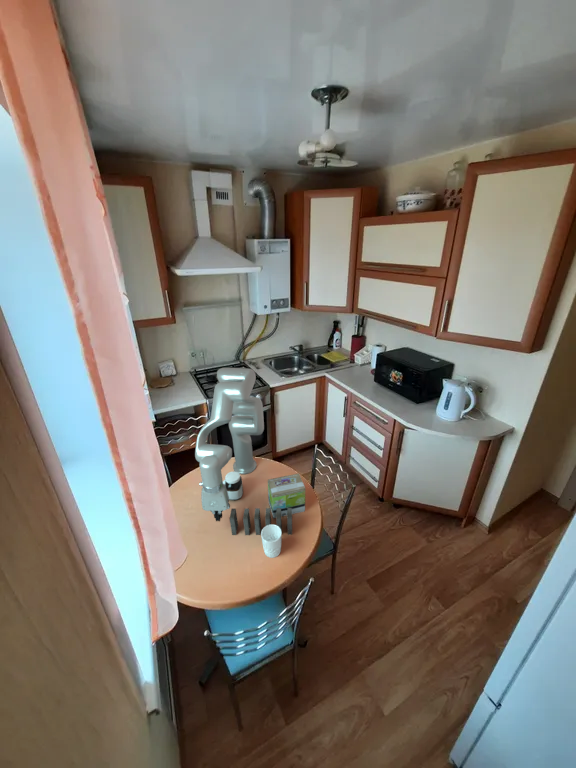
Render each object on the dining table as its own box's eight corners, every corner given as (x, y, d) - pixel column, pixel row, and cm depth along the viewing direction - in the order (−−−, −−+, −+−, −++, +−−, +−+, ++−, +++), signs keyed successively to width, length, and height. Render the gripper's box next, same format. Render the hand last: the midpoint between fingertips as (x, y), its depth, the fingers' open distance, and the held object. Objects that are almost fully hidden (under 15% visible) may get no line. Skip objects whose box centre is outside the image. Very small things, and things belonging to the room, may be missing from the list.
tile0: (233, 525, 136) (230, 508, 132) (238, 525, 136) (235, 508, 131) (231, 535, 131) (228, 518, 127) (236, 535, 131) (233, 518, 127)
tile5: (287, 524, 135) (286, 507, 131) (292, 524, 135) (291, 507, 131) (287, 534, 131) (286, 517, 127) (292, 534, 131) (291, 517, 127)
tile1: (245, 525, 136) (243, 508, 131) (250, 525, 136) (248, 508, 131) (244, 535, 131) (242, 518, 127) (249, 535, 131) (247, 518, 127)
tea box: (273, 519, 138) (271, 495, 131) (268, 502, 147) (266, 478, 140) (305, 511, 141) (305, 487, 135) (299, 495, 150) (298, 471, 144)
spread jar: (241, 502, 147) (239, 484, 142) (217, 502, 147) (214, 484, 142) (245, 484, 158) (243, 466, 153) (222, 484, 158) (220, 466, 153)
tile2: (256, 524, 136) (254, 508, 131) (261, 524, 136) (259, 508, 131) (255, 535, 131) (253, 518, 127) (260, 534, 131) (258, 518, 127)
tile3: (266, 524, 136) (265, 508, 131) (271, 524, 136) (270, 508, 131) (265, 534, 131) (264, 518, 127) (270, 534, 131) (269, 518, 127)
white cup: (271, 537, 130) (270, 521, 125) (286, 548, 125) (285, 531, 121) (258, 551, 124) (256, 534, 120) (273, 563, 120) (272, 546, 115)
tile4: (276, 524, 136) (275, 508, 131) (281, 524, 136) (280, 508, 131) (276, 534, 131) (275, 517, 127) (281, 534, 131) (280, 517, 127)
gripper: (191, 492, 119) (198, 526, 127) (230, 491, 119) (235, 525, 126) (196, 478, 126) (203, 511, 134) (233, 477, 125) (237, 511, 133)
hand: (218, 518), depth 130 cm, fingers closed
